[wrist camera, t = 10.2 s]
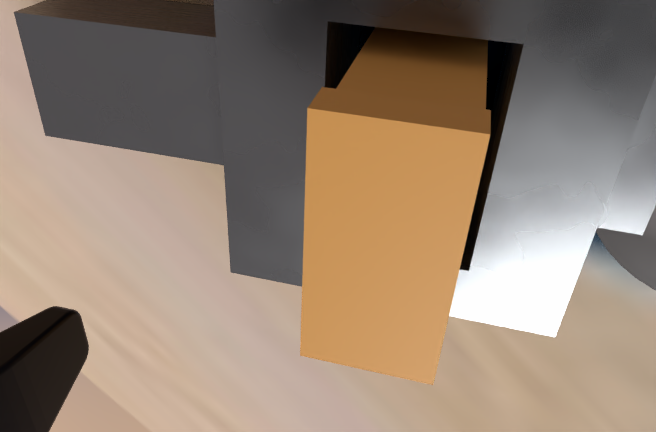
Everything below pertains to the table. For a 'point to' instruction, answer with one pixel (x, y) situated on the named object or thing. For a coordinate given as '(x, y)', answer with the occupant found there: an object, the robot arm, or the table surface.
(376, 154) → the tan stepped block
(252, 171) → the ring lock bracket
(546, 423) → the table surface
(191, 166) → the table surface
